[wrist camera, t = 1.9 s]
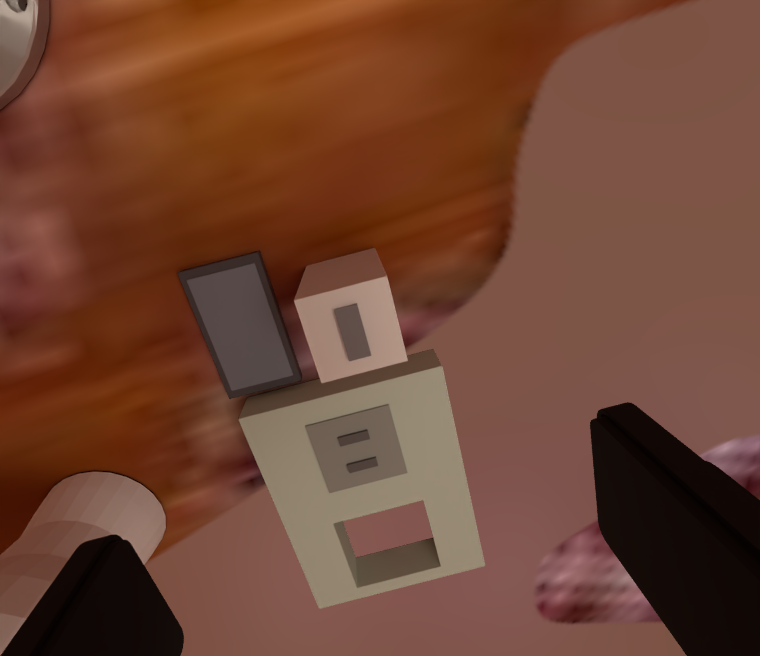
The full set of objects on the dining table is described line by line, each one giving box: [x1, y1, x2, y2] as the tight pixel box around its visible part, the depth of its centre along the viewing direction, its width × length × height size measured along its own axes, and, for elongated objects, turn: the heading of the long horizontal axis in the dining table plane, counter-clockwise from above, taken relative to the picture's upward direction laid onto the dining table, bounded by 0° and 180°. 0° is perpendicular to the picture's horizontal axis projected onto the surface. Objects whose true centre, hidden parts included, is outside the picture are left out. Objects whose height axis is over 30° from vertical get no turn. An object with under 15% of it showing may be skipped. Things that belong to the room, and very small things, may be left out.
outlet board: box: [238, 349, 485, 609], centre depth 28 cm, size 16×12×3 cm
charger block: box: [294, 248, 408, 383], centre depth 22 cm, size 4×4×7 cm
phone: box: [177, 251, 302, 399], centre depth 25 cm, size 8×4×1 cm, turn 13°
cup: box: [0, 472, 166, 655], centre depth 22 cm, size 11×11×15 cm
